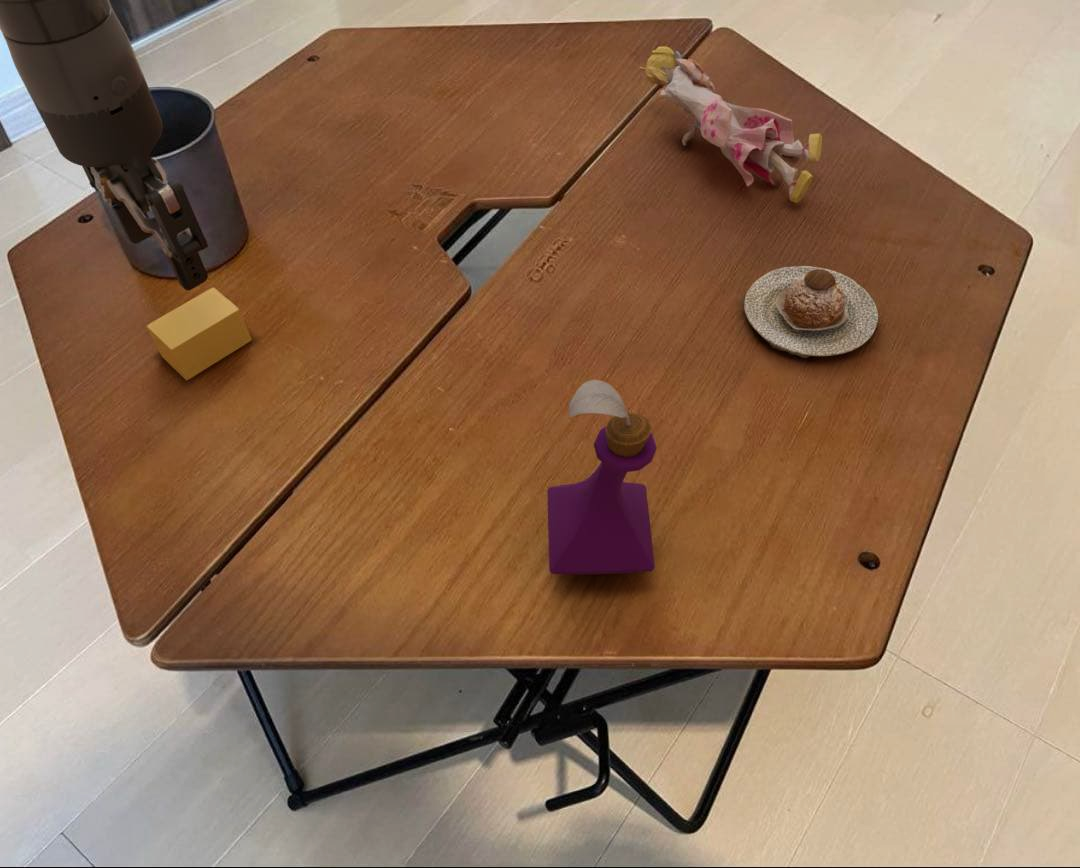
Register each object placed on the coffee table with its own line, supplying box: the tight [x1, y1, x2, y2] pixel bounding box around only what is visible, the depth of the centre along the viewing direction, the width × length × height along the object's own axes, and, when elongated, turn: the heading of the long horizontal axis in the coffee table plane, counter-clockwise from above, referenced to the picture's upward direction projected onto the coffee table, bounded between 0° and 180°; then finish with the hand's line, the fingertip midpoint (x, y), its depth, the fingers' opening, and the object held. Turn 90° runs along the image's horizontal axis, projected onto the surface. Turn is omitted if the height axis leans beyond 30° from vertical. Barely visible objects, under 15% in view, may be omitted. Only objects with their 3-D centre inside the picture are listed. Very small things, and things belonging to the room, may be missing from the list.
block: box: [145, 286, 252, 381], centre depth 82 cm, size 7×4×4 cm, turn 135°
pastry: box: [743, 265, 879, 359], centre depth 82 cm, size 12×12×5 cm
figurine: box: [638, 45, 823, 204], centre depth 96 cm, size 12×12×25 cm
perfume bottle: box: [546, 379, 657, 576], centre depth 62 cm, size 8×8×18 cm
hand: (168, 260), depth 76 cm, fingers open, 8 cm apart
